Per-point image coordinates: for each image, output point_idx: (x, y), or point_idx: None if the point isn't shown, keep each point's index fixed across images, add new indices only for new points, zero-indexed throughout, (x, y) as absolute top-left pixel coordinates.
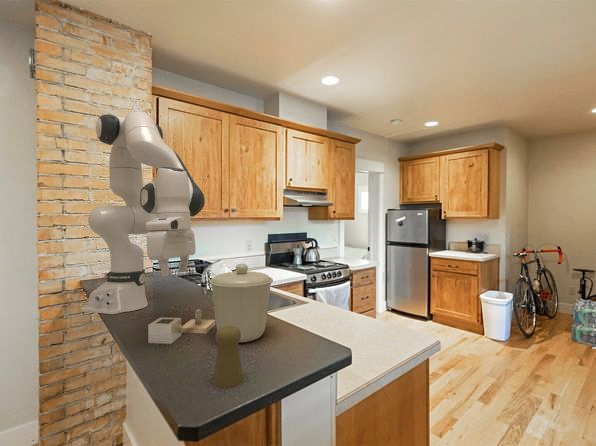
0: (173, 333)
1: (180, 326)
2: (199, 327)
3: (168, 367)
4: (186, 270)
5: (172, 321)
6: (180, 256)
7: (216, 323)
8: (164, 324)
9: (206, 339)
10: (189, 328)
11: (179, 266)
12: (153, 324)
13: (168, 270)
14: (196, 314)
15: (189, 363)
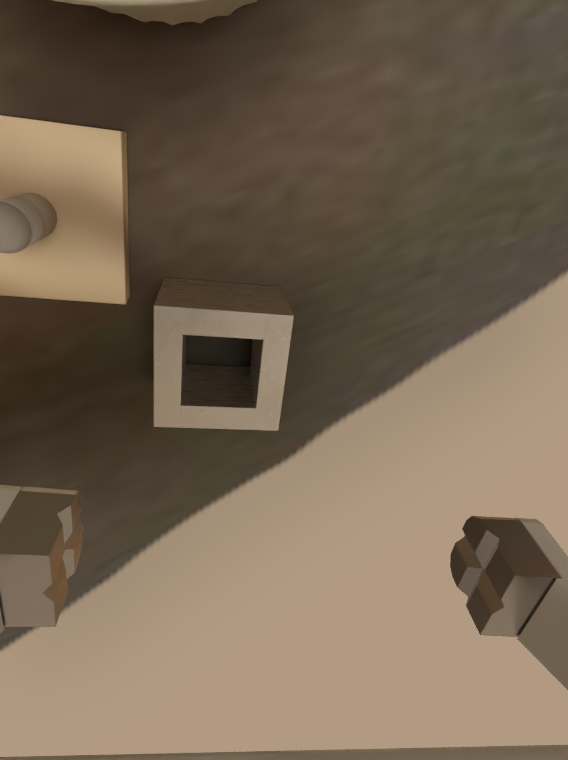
0: (260, 296)
1: (172, 292)
2: (108, 186)
3: (524, 206)
4: (6, 485)
5: (224, 334)
6: (319, 751)
7: (237, 7)
8: (277, 356)
9: (223, 106)
10: (123, 248)
11: (58, 610)
12: (274, 409)
13: (554, 565)
14: (35, 234)
15: (511, 121)
